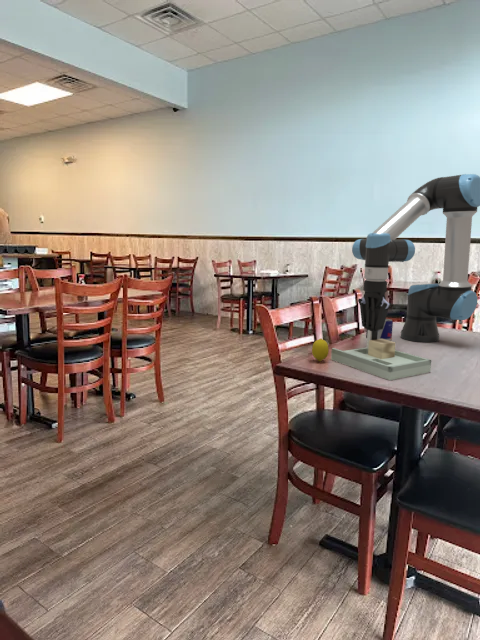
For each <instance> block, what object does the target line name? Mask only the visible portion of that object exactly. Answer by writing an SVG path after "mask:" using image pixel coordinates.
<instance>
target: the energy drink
mask: <svg viewBox="0 0 480 640" xmlns="http://www.w3.org/2000/svg"><path fill="white" fill-rule="evenodd" d="M393 324H394V321H393V319H389V318H386V320H385V323H384V327H383V329H381V330H378V335H377V339H385V340H389V341H392V339H393V338H392V337H393V327H394V325H393ZM392 342H393V341H392Z"/></svg>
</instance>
